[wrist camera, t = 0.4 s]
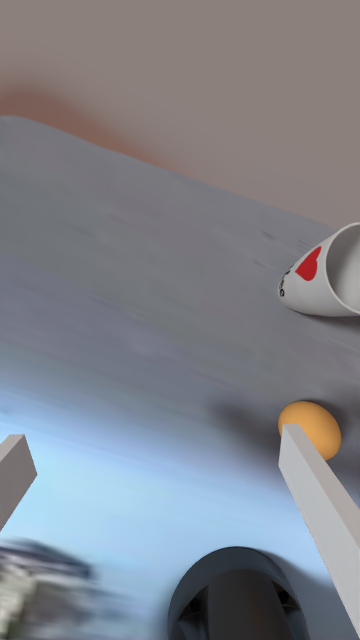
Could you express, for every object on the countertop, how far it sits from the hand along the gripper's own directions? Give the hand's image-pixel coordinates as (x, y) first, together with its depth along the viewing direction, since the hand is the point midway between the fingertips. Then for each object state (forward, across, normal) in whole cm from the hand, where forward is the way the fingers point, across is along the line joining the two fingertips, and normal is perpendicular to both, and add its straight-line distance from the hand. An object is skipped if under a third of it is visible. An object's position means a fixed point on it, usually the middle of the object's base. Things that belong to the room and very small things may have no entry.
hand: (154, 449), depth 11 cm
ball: (+11, -15, +10) cm, 21 cm away
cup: (+20, -17, -4) cm, 26 cm away
